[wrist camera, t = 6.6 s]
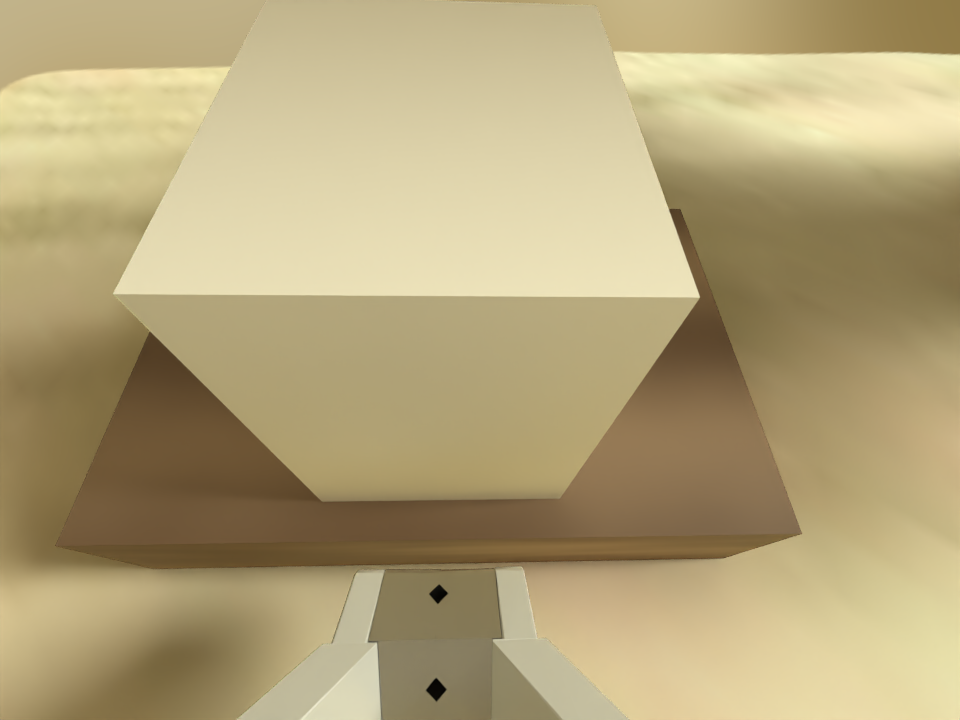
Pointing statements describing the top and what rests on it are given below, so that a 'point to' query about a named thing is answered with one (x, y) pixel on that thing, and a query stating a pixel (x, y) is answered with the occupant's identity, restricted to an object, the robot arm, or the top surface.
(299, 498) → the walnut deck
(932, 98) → the top surface
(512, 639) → the robot arm
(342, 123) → the cream block
